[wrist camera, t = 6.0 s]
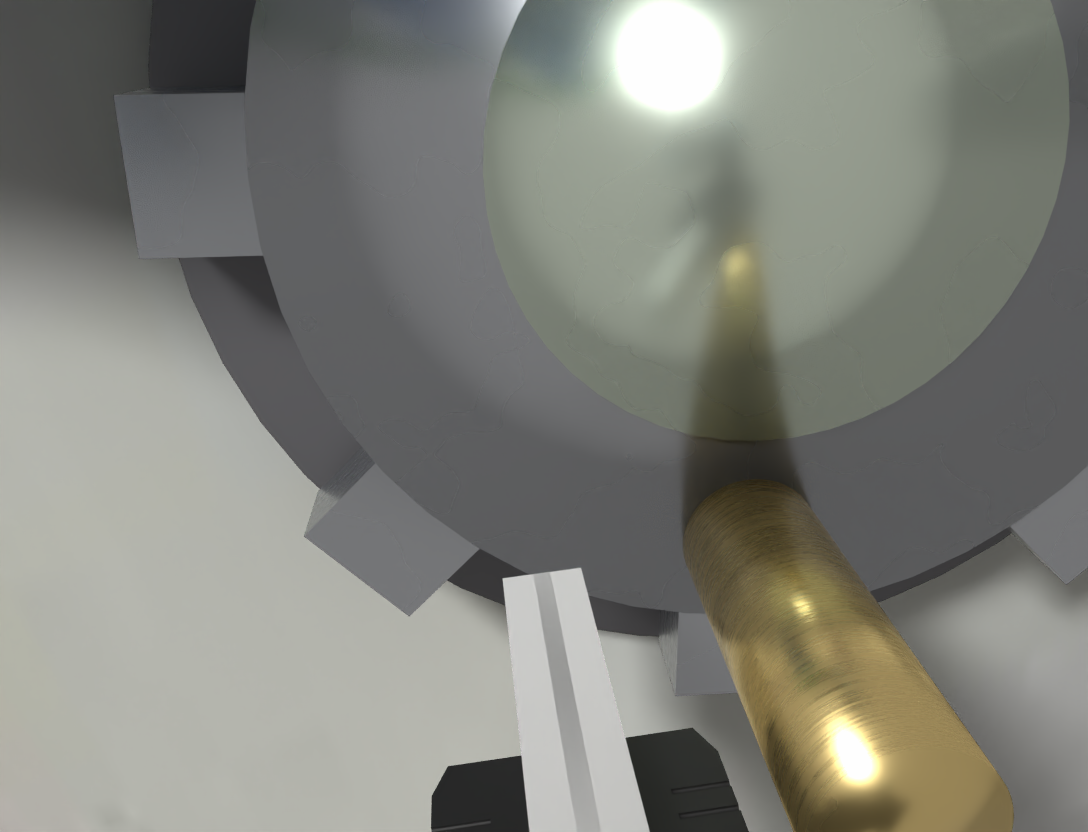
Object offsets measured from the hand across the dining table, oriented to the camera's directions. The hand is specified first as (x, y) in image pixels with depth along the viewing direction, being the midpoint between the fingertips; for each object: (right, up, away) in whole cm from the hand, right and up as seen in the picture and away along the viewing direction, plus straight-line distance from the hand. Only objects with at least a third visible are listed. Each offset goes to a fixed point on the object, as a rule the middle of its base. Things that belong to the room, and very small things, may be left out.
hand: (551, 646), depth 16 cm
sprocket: (+3, +8, +1) cm, 9 cm away
